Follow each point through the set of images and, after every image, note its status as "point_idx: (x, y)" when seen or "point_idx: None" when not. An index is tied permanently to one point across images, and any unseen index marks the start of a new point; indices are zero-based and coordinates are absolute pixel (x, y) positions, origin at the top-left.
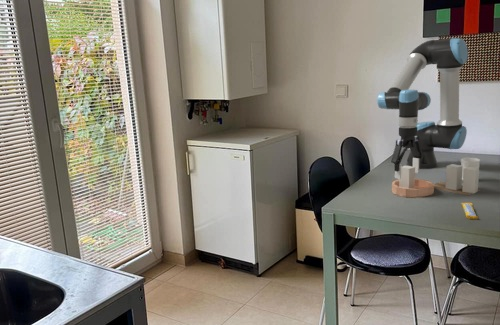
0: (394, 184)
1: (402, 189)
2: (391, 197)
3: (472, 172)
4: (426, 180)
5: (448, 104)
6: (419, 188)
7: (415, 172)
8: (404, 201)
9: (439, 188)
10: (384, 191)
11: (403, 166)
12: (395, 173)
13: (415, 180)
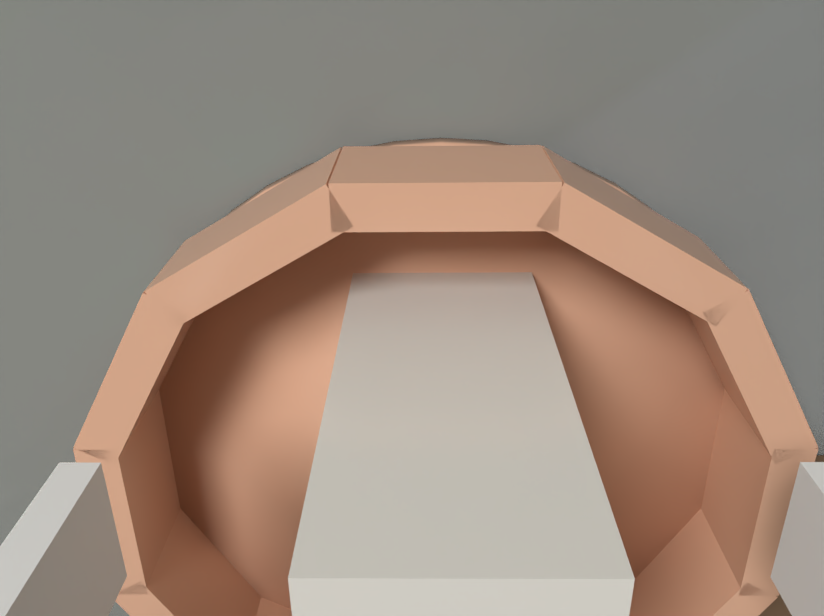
0: (167, 338)
1: None
2: (3, 368)
3: None
4: None
5: None
6: (602, 462)
7: (786, 533)
8: None
9: (779, 610)
10: (151, 93)
11: (450, 613)
12: (5, 563)
13: (742, 406)
